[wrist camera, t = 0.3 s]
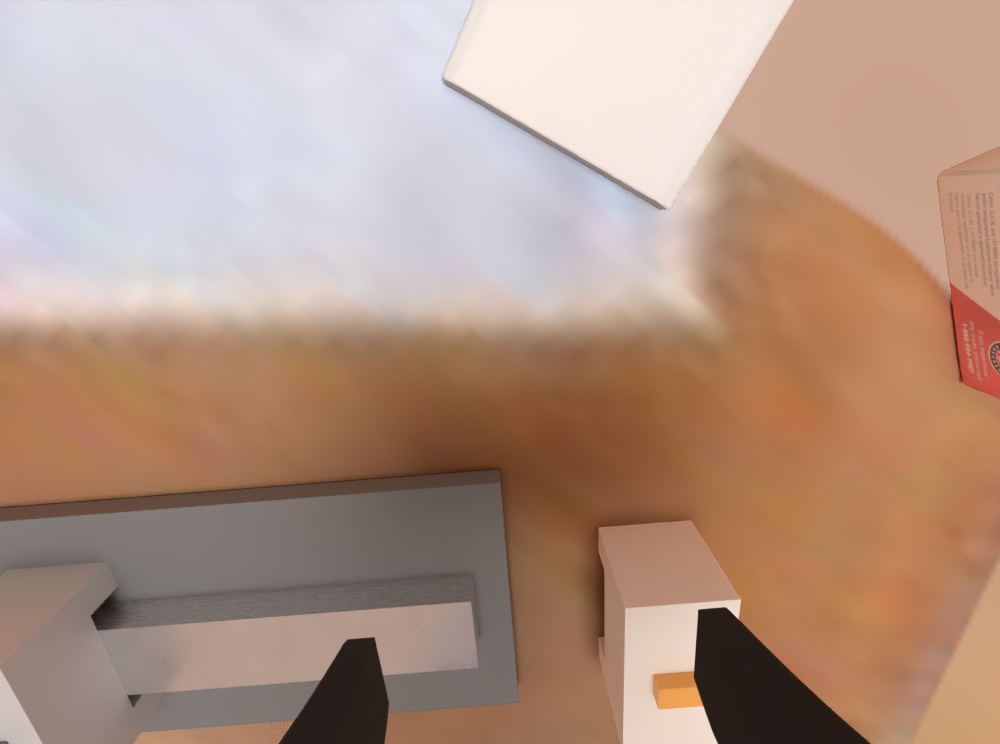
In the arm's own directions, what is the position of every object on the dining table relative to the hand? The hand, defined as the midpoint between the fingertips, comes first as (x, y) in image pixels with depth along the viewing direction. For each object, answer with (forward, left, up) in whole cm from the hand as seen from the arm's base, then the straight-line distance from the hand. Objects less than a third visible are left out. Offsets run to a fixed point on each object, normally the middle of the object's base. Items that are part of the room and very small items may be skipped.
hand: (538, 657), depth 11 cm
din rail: (-7, +12, -9) cm, 16 cm away
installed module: (-7, +19, -8) cm, 22 cm away
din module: (-8, -5, -9) cm, 13 cm away
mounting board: (-7, +12, -9) cm, 16 cm away
